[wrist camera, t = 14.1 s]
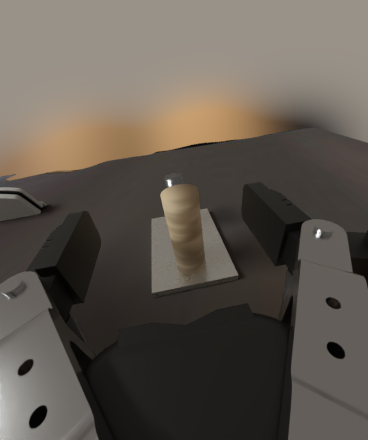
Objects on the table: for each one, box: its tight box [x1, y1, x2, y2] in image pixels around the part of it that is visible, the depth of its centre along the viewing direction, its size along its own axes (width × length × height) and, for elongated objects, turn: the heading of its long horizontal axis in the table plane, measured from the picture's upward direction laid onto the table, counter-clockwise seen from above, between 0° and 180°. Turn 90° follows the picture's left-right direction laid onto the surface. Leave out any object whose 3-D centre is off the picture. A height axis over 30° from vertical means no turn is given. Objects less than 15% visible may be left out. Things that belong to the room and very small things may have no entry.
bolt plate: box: [152, 173, 238, 297], centre depth 31 cm, size 12×18×11 cm, turn 8°
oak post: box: [161, 184, 206, 274], centre depth 26 cm, size 4×4×12 cm
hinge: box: [0, 188, 47, 221], centre depth 51 cm, size 17×5×10 cm, turn 97°
